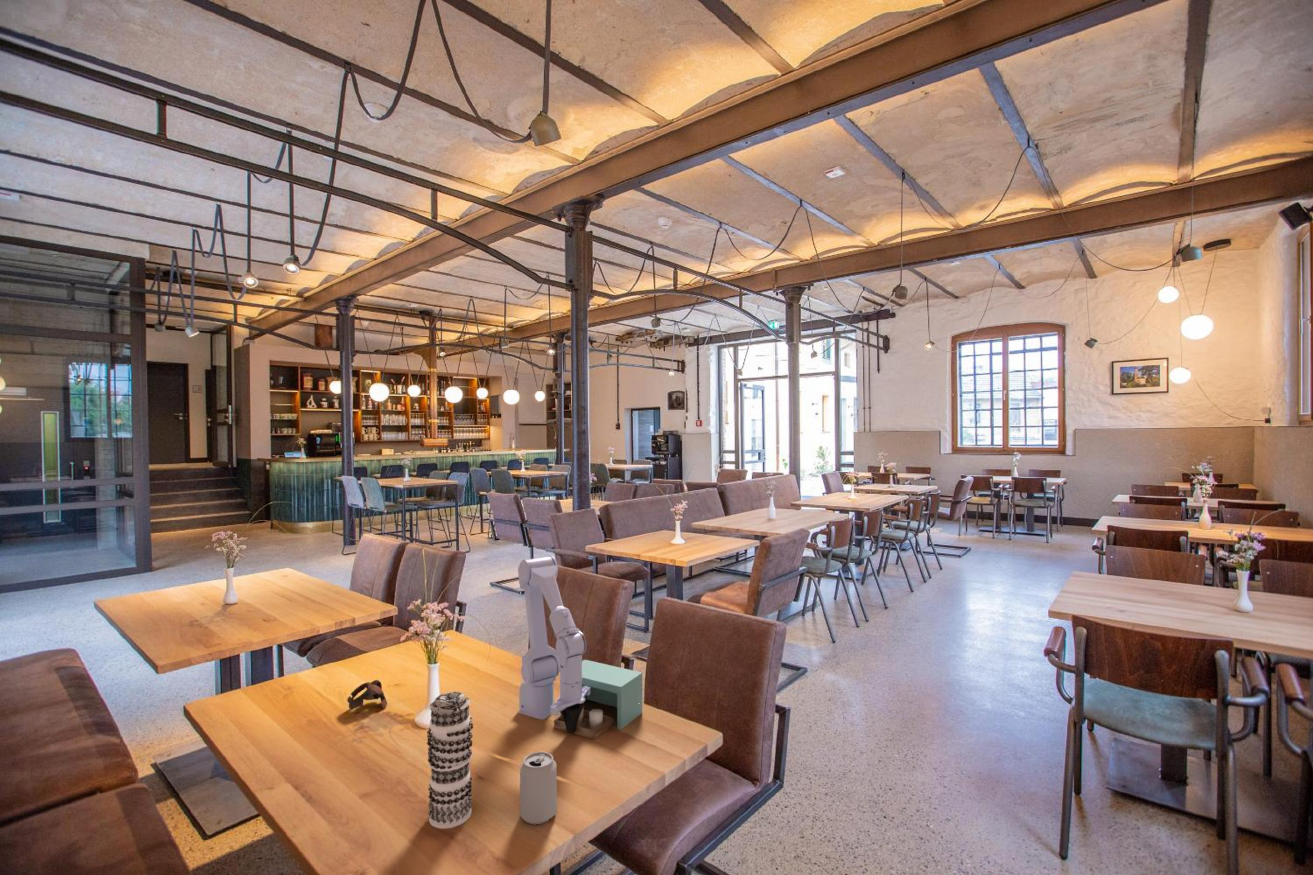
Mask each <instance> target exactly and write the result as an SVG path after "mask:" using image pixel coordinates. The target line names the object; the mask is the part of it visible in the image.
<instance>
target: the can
mask: <svg viewBox="0 0 1313 875" xmlns="http://www.w3.org/2000/svg"><path fill="white" fill-rule="evenodd" d="M557 769H558V768H557V763H556V761H555V760H554V755H552V753H550V752H547V751H536V752H532V753H529V754H528V755H526V756H525V757H524V758H523V761H522V764H521V765H520V766H519V781H520V782H519V789H520V790H519V792H520V793H519V797H520V799H519V802H520V803H519V806H520V807H519V810H520V811H519V814H520V817H521V819H522V820H523V821H525V822H526V823H528V824H530V825H536V824H538V825H543V824H545V823H547V822H549V821H550V820H551V819H552V818H553V817H554V816H555V815H556V813H557V809H558V808H557V807H558V804H557V803H558V802H557V801H558V800H557V797H558V796H557V795H558V794H557V789H558V788H557V787H558V786H557V783H558V782H557V778H558V777H557V774H558V773H557V771H558V770H557ZM550 818H551V819H550ZM549 819H550V820H549ZM548 820H549V821H548ZM546 821H547V822H546ZM544 822H545V823H544ZM542 823H543V824H542Z"/></svg>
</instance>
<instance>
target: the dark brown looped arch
mask: <svg viewBox="0 0 1313 875" xmlns="http://www.w3.org/2000/svg"><path fill="white" fill-rule="evenodd" d="M364 690H365V691H364ZM362 691H364V692H362ZM361 692H362V694H360V695H359V696H358V694H359V693H361ZM350 695H351V696H348V697H347V700H346V701H347V703H348V709H350V710H354V709H357V708H359V707H360V708H364V701H373V700H378V699H380V705H381V708H382V710H385V709H386V707H387V706H388V702H387V699H386V698H387V697H386V696H385V693H384V691H383V687H382V683H381V681H380V680H377V679H375V680H373V681H371V682H368V681H367V682H364V683H362V684H360V685H359V686H357V687H356V688H355V689H354V690H353V691H351V693H350Z"/></svg>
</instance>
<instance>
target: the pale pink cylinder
mask: <svg viewBox="0 0 1313 875" xmlns="http://www.w3.org/2000/svg"><path fill="white" fill-rule="evenodd" d="M589 711H590V712H589V728H590V729H592V730H594V729H596V728H597V727H598V726H600V725H601V724H603V715H604V711H603V710H602V709H600V708H593V709H591V710H589Z"/></svg>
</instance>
